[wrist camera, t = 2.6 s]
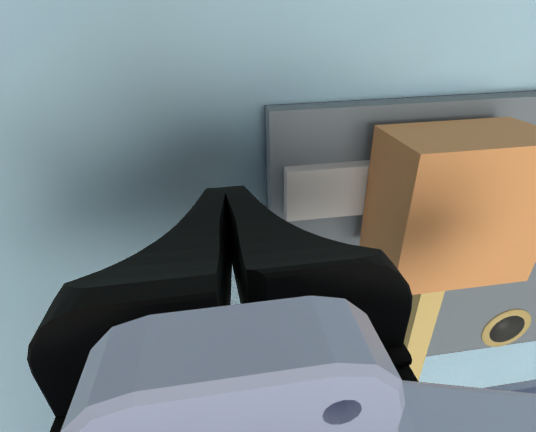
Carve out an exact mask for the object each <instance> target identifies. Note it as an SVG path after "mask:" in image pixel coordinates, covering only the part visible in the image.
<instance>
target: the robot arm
mask: <svg viewBox="0 0 536 432" xmlns="http://www.w3.org/2000/svg"><path fill="white" fill-rule="evenodd" d="M232 265H233V270H234V275H235V279H236V284H237V289H238V293H239V298H240V303H241V304H236V305H230V302H231V273H232ZM412 299H413V296H412V293H411V289H410V286H409V284H408V283H407V281H406V280H405V279H404V277H403V276H402V275H401V273H400V272H399V270H398V269H397V268H396V266H395V265H394V264H393V262H392V261H391V260H390V259H389V258H388V257H387V255H386V254H385V253H384V252H383V251H382V250H381V249H375V248H369V247H363V246H357V245H351V244H346V243H342V242H338V241H335V240H331V239H327V238H324V237H321V236H318V235H316V234H313V233H310V232H308V231H305V230H303V229H301V228H299V227H297V226H295V225H293V224H291V223H289V222H287V221H285V220H284V219H282V218H280V217H279V216H277V215H276V214H275V213H273V212H272V211H270V210H269V209H268V208H266V207H265V206H264V205H263V204H262V203H261V202H259V201H258V200H257V199H256V198H255V197H254V196H253V195H252V194H251V193H250V192H249V191H248V190H247V189H246V188H245V187H244V186H233V187H221V188H208V189H206V190H205V191H204V192H203V193H202V195H201V196H200V198H199V199H198V201H197V202H196V203H195V205H194V206H193V207H192V208H191V209H190V211H189V212H188V213H187V214H186V215H185V217H184V218H183V219H182V220H181V221H180V222H179V223H178V224H177V225H176V226H175V227H173V228H172V229H171V230H170V231H169V232H168V233H166V234H165V235H164V236H162V237H161V238H160V239H158V240H157V241H156V242H154V243H152V244H151V245H149V246H148V247H146V248H144V249H143V250H141V251H140V252H138V253H136V254H134V255H133V256H131V257H129V258H127V259H125V260H123V261H121V262H119V263H116V264H114V265H112V266H110V267H108V268H105V269H103V270H101V271H98V272H95V273H92V274H90V275H87V276H84V277H82V278H79V279H76V280H73V281H70V282H67V283H64V285H63V286H62V288H61V289H60V291H59V293H58V294H57V296H56V297H55V299H54V300H53V302H52V304H51V306H50V307H49V309H48V311H47V313H46V315H45V317H44V318H43V320H42V322H41V324H40V326H39V327H38V329H37V331H36V333H35V335H34V337H33V338H32V340H31V342H30V344H29V347H28V357H27V361H28V364H29V367H30V370H31V373H32V375H33V377H34V378H35V380H36V382H37V384H38V386H39V388H40V389H41V391H42V393H43V395H44V397H45V398H46V400H47V402H48V404H49V406H50V407H51V409H52V411H53V413H54V415H55V416H56V418H55V420H54V423H53V425H52V428H51V430H50V432H536V380H530V381H524V382H518V383H512V384H505V385H499V386H493V387H487V388H474V387H464V386H454V385H445V384H435V383H425V382H419V381H418V380H417V378H416V376H415V375H414V373H413V371H412V369H411V368H410V366H409V365H411V364H412V357H411V354H410V353H409V351H408V349H407V348H406V346H405V344H404V339H405V335H406V331H407V327H408V323H409V318H410V314H411V310H412Z"/></svg>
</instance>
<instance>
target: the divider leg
mask: <svg viewBox="0 0 536 432" xmlns="http://www.w3.org/2000/svg"><path fill="white" fill-rule="evenodd" d="M359 246H363V247H369V248H375V249H381V250H382V251H383V252H384V253H385V254H386V255H387V257H388V258H389V259H390V260H391V261H392V262H393V264H394V265H395V266H396V268H397V269H398V270H399V272H400V273H401V275H402V276H403V277H404V279H405V280H406V281H407V283H408V284H409V286H410V289H411V293H412V296H413V299H412V310H411V314H410V318H409V323H408V327H407V331H406V335H405V339H404V344H405V346H406V348H407V349H408V351H409V353H410V354H411V357H412V364H411V365H409V366H410V368H411V369H412V371H413V373H414V375H415V376H416V378H417V380H418V381H419V377H420V374H421V370H422V367H423V364H424V360H425V357H426V354H427V350H428V347H429V344H430V340H431V337H432V334H433V330H434V327H435V323H436V320H437V317H438V313H439V310H440V307H441V303H442V300H443V297H444V293H445V291H449V290H457V289H465V288H473V287H482V286H490V285H498V284H506V283H514V282H522V281H527V280H528V278H529V276H530V273H531V271H532V269H533V267H534V264H535V262H536V125H534V124H531V123H527V122H524V121H521V120H518V119H515V118H512V117H496V118H480V119H464V120H448V121H432V122H417V123H401V124H385V125H374V133H373V141H372V149H371V157H370V165H369V172H368V180H367V188H366V196H365V204H364V211H363V219H362V227H361V235H360V243H359Z"/></svg>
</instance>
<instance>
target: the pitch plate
mask: <svg viewBox="0 0 536 432" xmlns="http://www.w3.org/2000/svg"><path fill="white" fill-rule="evenodd" d="M496 117H512V118H515V119H518V120H521V121H524V122H527V123H531V124H534V125H536V91H521V92H503V93H484V94H466V95H448V96H429V97H411V98H392V99H374V100H356V101H337V102H319V103H300V104H282V105H265V119H266V157H267V195H268V209H269V210H270V211H272V212H273V213H275V214H276V215H277V216H279V217H280V218H282V219H284V220H285V221H287V222H289V223H291V224H293V225H295V226H297V227H299V228H301V229H303V230H305V231H308V232H310V233H313V234H316V235H318V236H321V237H324V238H327V239H331V240H335V241H338V242H342V243H346V244H351V245H357V246H359V243H360V235H361V227H362V219H363V211H364V204H365V196H366V188H367V180H368V172H369V165H370V157H371V149H372V141H373V133H374V125H385V124H401V123H417V122H432V121H448V120H464V119H480V118H496ZM530 341H536V262H535V264H534V267H533V269H532V271H531V273H530V276H529V278H528V280H527V281H522V282H514V283H506V284H498V285H490V286H482V287H473V288H465V289H457V290H449V291H445V293H444V297H443V300H442V303H441V307H440V310H439V313H438V317H437V320H436V323H435V327H434V330H433V334H432V337H431V340H430V344H429V347H428V350H427V354H426V356H433V355H440V354H447V353H454V352H461V351H468V350H475V349H482V348H489V347H499V346H503V345H509V344H516V343H523V342H530Z"/></svg>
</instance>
